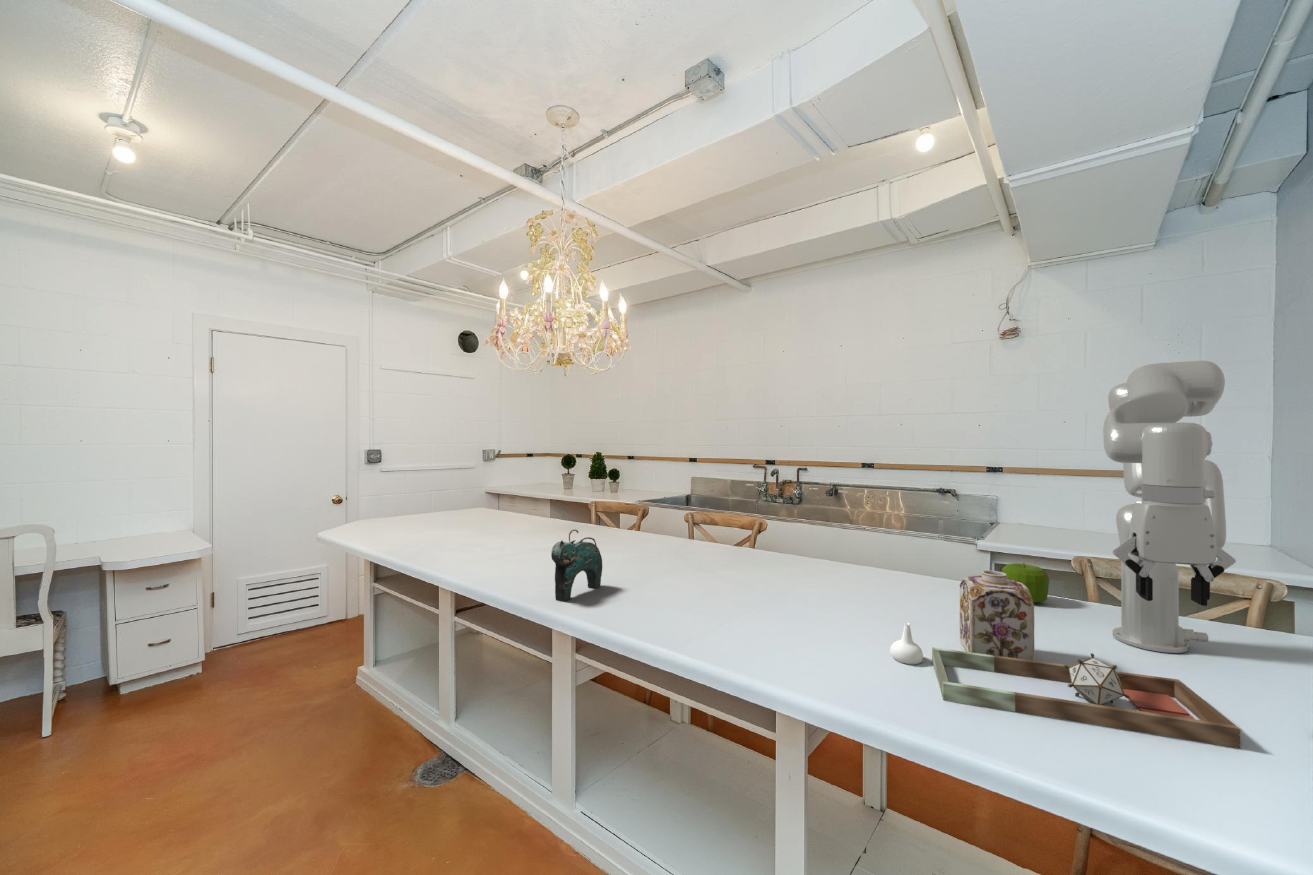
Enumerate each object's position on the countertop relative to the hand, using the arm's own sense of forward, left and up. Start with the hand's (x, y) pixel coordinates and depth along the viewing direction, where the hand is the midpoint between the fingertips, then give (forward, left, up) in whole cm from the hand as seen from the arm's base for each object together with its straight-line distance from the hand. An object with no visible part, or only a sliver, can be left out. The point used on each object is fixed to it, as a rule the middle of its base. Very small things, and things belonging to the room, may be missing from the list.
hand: (1171, 599), depth 89 cm
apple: (+6, -62, -20) cm, 65 cm away
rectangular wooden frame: (+15, 0, -20) cm, 25 cm away
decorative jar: (+22, -17, -20) cm, 35 cm away
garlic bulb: (+40, -8, -20) cm, 46 cm away
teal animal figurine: (+130, -23, -20) cm, 134 cm away
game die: (+10, 0, -20) cm, 23 cm away
